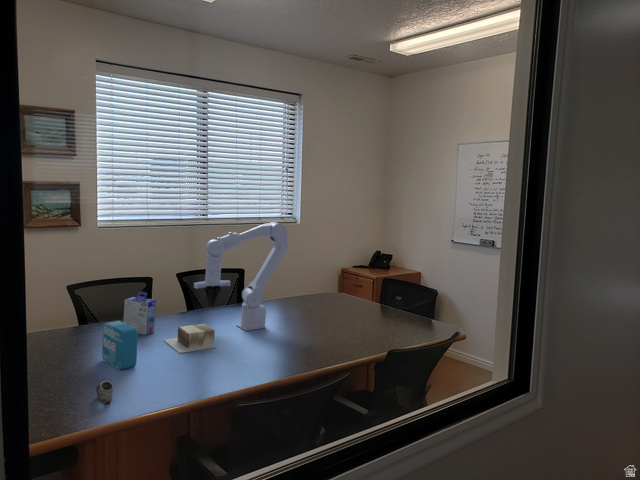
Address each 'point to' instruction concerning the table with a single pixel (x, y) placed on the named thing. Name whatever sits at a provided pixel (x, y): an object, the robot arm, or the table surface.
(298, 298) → the table surface
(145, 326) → the ink cartridge box
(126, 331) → the data package
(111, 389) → the grey stone mug
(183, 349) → the mat
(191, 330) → the ash block
